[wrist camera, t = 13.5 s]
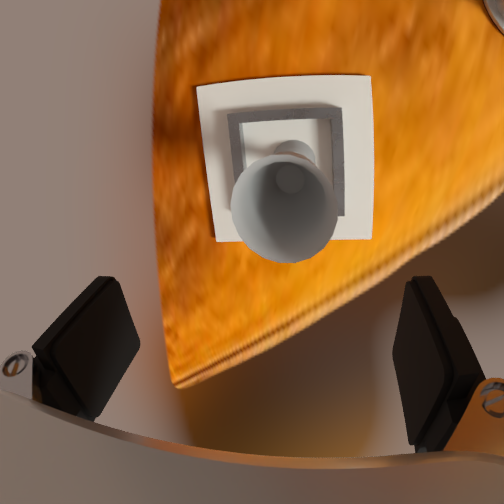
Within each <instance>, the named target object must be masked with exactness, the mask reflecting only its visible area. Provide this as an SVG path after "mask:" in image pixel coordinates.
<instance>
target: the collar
mask: <svg viewBox="0 0 504 504" xmlns="http://www.w3.org/2000/svg"><path fill="white" fill-rule="evenodd" d="M329 118H330V126H331V146H332V175H333V190H334V193H335V196H336V199H337V202H338V216H345V174H344V139H343V118H342V108H341V107H325V108H293V109H275V110H261V111H249V112H239V113H230V114H227V119H228V128H229V137H230V146H231V155H232V164H233V173H234V182H235V184H236V182H237V180H238V178H239V176H240V175H241V173H242V172H243V171H244V170H245V169H246V168H247V164H246V154H245V144H244V135H243V125H242V123H248V122H260V121H275V120H294V119H329Z"/></svg>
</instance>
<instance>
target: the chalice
mask: <svg viewBox="0 0 504 504" xmlns="http://www.w3.org/2000/svg"><path fill="white" fill-rule="evenodd" d="M315 164H316V162H315V155H314V153H313V150H312V149H311V148H310V147H309V145H307V144H306V143H304V142H302V141H299V140H288V141H285V142H282V143H281V144H280V145H279V146H277V148H276V149H275V151H274V153H273V154H272V155H270V156H267V157H264V158H262V159H259V160H257V161H254V162H253V163H252V164H251V165H250V166H249V167H248V168H246V169H245V170H244V171H243V172H242V173H241V175H240V176H239V178H238V180H237V182H236V184H235V186H234V188H233V192H232V198H231V204H230V206H231V213H232V221H233V223H234V225H235V228H236V230H237V232H238V234H239V236H240V237H241V239H242V240H243V241H244V242H245V244H246V245H247V246H248V247H249V248H250V249H251V250H253V251H254V252H256V253H257V254H259V255H260V256H261V257H263V258H266V259H269V260H272V261H275V262H278V263H296V262H299V261H302V260H305V259H309V258H311V257H312V256H314V255H315V254H317V253H318V252H319V251H321V250H322V249H323V248H324V247H325V246H326V244H327V243H328V241H329V240H330V239H331V237H332V236H333V233H334V230H335V227H336V224H337V220H338V202H337V199H336V196H335V193H334V190H333V187H332V185H331V184H330V182H329V181H328V179H327V178H326V177H325V175H324V174H323V172H322V171H321V170H319V169H318V168H317V166H316V165H315Z"/></svg>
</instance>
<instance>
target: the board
mask: <svg viewBox="0 0 504 504" xmlns="http://www.w3.org/2000/svg"><path fill="white" fill-rule="evenodd" d="M196 89H197V98H198V107H199V115H200V123H201V132H202V140H203V148H204V155H205V163H206V171H207V178H208V186H209V193H210V200H211V207H212V214H213V221H214V228H215V235H216V241H217V242H230V241H243V240H242V239H241V237H240V236H239V234H238V232H237V230H236V228H235V225H234V223H233V221H232V213H231V206H230V204H231V198H232V192H233V188H234V186H235V182H234V173H233V164H232V155H231V146H230V137H229V128H228V119H227V114H230V113H239V112H249V111H261V110H275V109H293V108H325V107H341V108H342V118H343V139H344V174H345V216H338V220H337V224H336V227H335V230H334V233H333V236H332V237H331V239H330V240H337V239H372V223H373V197H374V131H373V106H372V90H371V76H357V75H314V76H289V77H274V78H262V79H251V80H242V81H233V82H225V83H218V84H211V85H205V86H198V87H196ZM242 125H243V135H244V144H245V154H246V164H247V168H248V167H249V166H250V165H251V164H252V163H253V162H254V161H257V160H259V159H262V158H264V157H267V156H270V155H272V154H273V153H274V151H275V149H276V148H277V146H279V145H280V144H281V143H282V142H285V141H288V140H299V141H302V142H304V143H306V144H307V145H309V147H310V148H311V149H312V150H313V153H314V155H315V162H316V164H315V165H316V166H317V168H318V169H319V170H321V171H322V172H323V174H324V175H325V177H326V178H327V179H328V181H329V182H330V184H331V185H332V187H333V175H332V146H331V126H330V118H329V119H294V120H275V121H260V122H248V123H242Z"/></svg>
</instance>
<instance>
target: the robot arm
mask: <svg viewBox="0 0 504 504" xmlns="http://www.w3.org/2000/svg"><path fill="white" fill-rule="evenodd" d="M483 1H484V4H485V7H486V9H487V11H488V13H489V15H490V17H491V18H492V20H493V22H494V23H495V24H496V26H497V27H498V29H499V30H500V31H501V32H502V33H503V34H504V0H483ZM32 348H33V350H34V352H35V354H36V357H35V358H33V356H32V355H31V353H29V352H27V351H18V352H15V353H13V354H11V355H10V356H8V357H7V358H6V359H5V360H4V361H3V363H2V364H1V366H0V504H504V379H502V378H489V379H486V378H485V375H484V373H483V371H482V369H481V366H480V364H479V362H478V360H477V358H476V355H475V353H474V351H473V349H472V347H471V345H470V342H469V340H468V338H467V336H466V334H465V332H464V330H463V328H462V326H461V324H460V323H459V321H458V319H457V318H456V317H453V315H452V313H451V311H450V309H449V307H448V305H447V303H446V301H445V300H444V298H443V296H442V294H441V292H440V290H439V289H438V287H437V285H436V283H435V282H434V280H433V278H432V277H431V276H414V277H412V280H411V281H408V282H406V285H405V291H404V297H403V302H402V308H401V313H400V318H399V323H398V327H397V332H396V336H395V341H394V345H393V352H392V355H393V361H394V366H395V370H396V375H397V380H398V385H399V390H400V395H401V401H402V406H403V412H404V417H405V423H406V429H407V436H408V441H409V444H410V445H414V446H415V453H413V454H399V455H388V456H374V457H355V458H354V457H351V458H299V457H298V458H297V457H277V456H262V455H252V454H242V453H234V452H225V451H218V450H211V449H205V448H198V447H193V446H187V445H181V444H177V443H172V442H167V441H162V440H158V439H153V438H149V437H145V436H141V435H137V434H132V433H129V432H125V431H122V430H118V429H114V428H111V427H108V426H104V425H101V424H98V423H95V422H94V420H95V418H96V417H98V416H99V415H100V414H101V413H102V411H103V409H104V407H105V406H106V404H107V402H108V401H109V399H110V397H111V395H112V394H113V392H114V390H115V389H116V387H117V385H118V383H119V382H120V380H121V378H122V377H123V375H124V373H125V372H126V370H127V368H128V367H129V365H130V363H131V362H132V360H133V358H134V357H135V355H136V353H137V352H138V350H139V348H140V339H139V337H138V334H137V331H136V329H135V326H134V323H133V320H132V318H131V315H130V312H129V310H128V306H127V304H126V301H125V298H124V295H123V292H122V289H121V286H120V283H119V282H118V281H116V279H115V278H114V277H110V276H98V277H97V278H96V279H95V280H94V281H93V282H92V283H91V284H90V285H89V286H88V287H87V288H86V289H85V290H84V291H83V292H82V293H81V294H80V295H79V296H78V297H77V298H76V299H75V300H74V301H73V302H72V303H71V304H70V305H69V307H67V308H66V309H65V311H64V312H63V313H62V314H61V315H60V316H59V317H58V318H57V319H56V320H55V321H54V322H53V323H52V324H51V325H50V327H49V328H48V329H47V330H46V331H45V332H44V333H43V334H42V335H41V336H40V338H39V339H38V340H37V341H36V342H35V343H34V344H33V345H32Z"/></svg>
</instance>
